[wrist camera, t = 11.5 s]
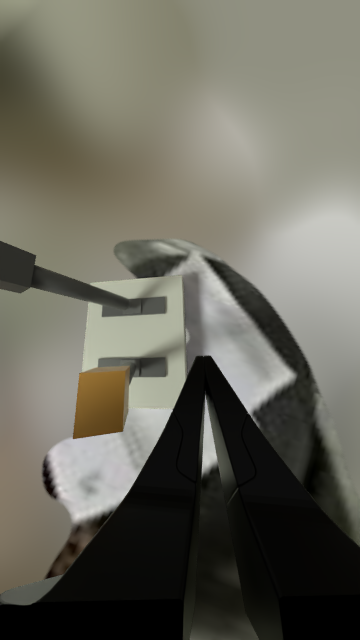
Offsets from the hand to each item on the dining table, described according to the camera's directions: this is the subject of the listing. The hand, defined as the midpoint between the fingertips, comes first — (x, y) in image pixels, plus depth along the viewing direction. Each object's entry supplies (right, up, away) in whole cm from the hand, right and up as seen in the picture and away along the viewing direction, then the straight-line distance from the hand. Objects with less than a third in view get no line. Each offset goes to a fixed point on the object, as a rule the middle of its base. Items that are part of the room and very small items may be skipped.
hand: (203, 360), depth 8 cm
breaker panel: (-7, 0, +12) cm, 14 cm away
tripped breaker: (-7, -3, +9) cm, 12 cm away
